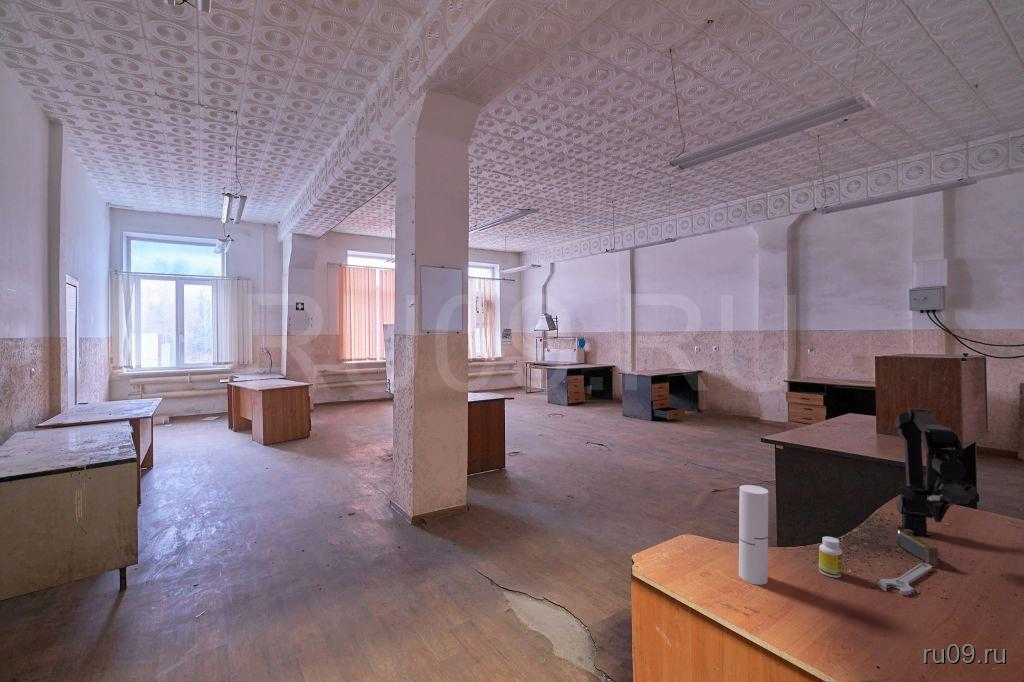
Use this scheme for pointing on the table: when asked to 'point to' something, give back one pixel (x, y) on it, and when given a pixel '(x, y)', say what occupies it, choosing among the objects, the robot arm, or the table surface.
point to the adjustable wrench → (905, 579)
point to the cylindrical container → (753, 534)
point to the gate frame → (927, 551)
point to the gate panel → (911, 544)
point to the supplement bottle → (830, 557)
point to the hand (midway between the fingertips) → (937, 521)
